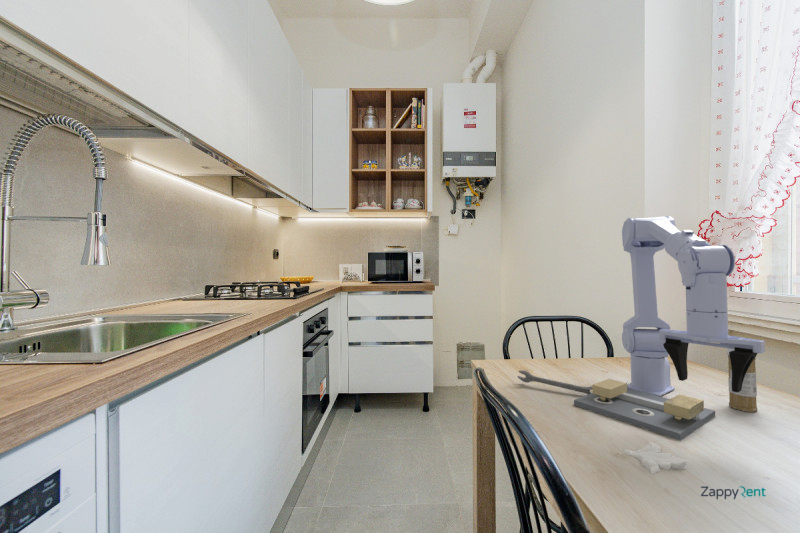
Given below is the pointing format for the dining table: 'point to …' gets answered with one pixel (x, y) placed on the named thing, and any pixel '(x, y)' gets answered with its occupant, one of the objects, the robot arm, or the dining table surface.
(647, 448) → the acanthus leaf ornament
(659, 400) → the bolt plate
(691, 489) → the dining table surface
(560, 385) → the combination wrench
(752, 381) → the sprinkles bottle
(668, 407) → the block
